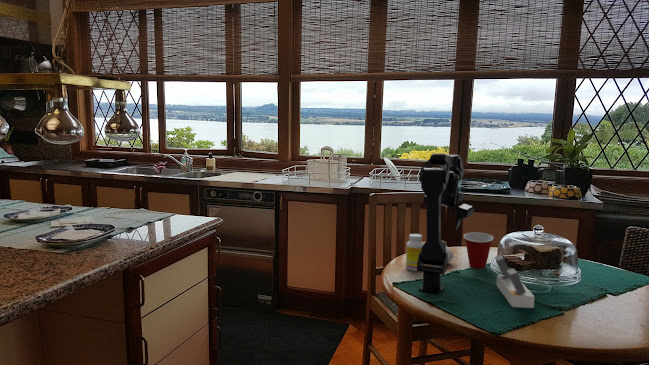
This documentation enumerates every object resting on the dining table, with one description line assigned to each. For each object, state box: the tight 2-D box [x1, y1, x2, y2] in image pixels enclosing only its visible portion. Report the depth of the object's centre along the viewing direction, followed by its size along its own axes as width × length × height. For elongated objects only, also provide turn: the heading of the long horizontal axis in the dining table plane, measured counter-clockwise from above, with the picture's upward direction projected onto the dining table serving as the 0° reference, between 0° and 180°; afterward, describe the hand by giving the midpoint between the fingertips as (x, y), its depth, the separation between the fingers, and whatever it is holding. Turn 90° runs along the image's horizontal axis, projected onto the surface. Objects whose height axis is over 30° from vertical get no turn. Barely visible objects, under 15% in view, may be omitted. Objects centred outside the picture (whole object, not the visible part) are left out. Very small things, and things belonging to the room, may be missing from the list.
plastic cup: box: [463, 231, 494, 270], centre depth 168 cm, size 11×11×12 cm
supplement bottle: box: [405, 233, 425, 272], centre depth 166 cm, size 7×7×13 cm
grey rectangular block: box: [507, 267, 526, 295], centre depth 131 cm, size 2×4×7 cm, turn 173°
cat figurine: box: [422, 240, 454, 264], centre depth 175 cm, size 10×8×15 cm
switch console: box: [496, 274, 535, 309], centre depth 139 cm, size 6×18×4 cm, turn 173°
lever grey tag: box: [494, 254, 510, 279], centre depth 145 cm, size 2×4×7 cm, turn 173°
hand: (445, 224), depth 171 cm, fingers open, 9 cm apart
